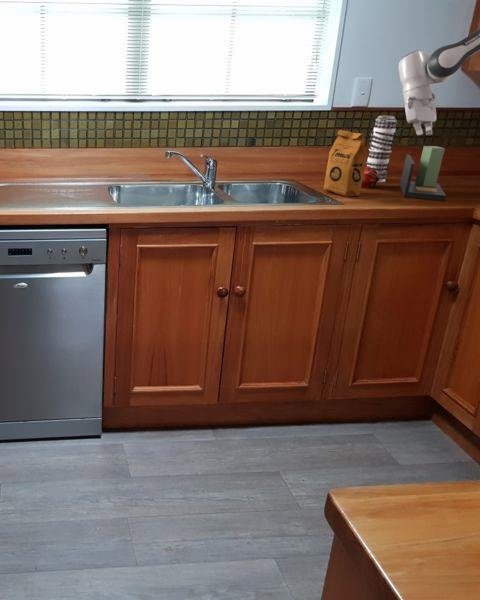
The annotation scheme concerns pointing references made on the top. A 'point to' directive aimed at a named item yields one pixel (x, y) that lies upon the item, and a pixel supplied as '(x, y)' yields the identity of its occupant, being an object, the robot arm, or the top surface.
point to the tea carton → (429, 165)
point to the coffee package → (346, 164)
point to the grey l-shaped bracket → (417, 190)
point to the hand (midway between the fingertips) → (424, 134)
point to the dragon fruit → (369, 177)
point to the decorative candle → (381, 145)
